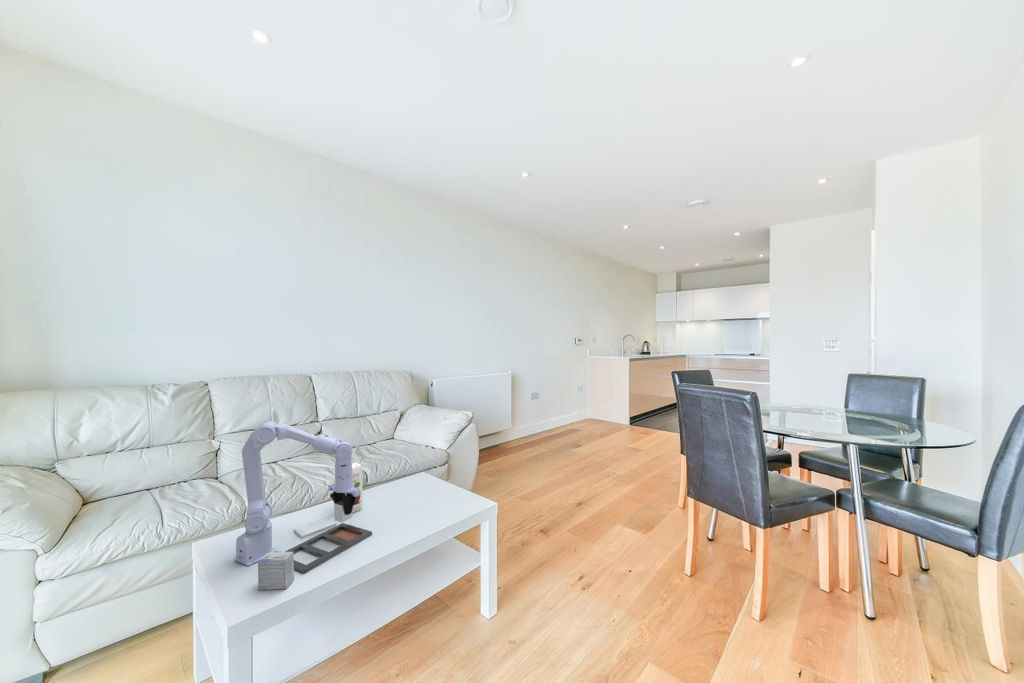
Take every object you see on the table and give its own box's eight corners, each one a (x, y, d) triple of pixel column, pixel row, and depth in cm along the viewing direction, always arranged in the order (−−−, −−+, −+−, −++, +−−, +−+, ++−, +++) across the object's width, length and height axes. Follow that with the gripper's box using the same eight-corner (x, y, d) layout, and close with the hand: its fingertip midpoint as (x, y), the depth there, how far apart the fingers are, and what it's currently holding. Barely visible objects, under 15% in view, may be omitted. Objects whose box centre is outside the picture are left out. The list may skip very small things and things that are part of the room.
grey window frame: (304, 573, 113) (303, 570, 113) (273, 561, 120) (273, 557, 120) (372, 534, 136) (371, 531, 136) (342, 526, 143) (342, 522, 143)
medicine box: (294, 580, 110) (294, 550, 110) (286, 590, 106) (285, 559, 106) (267, 581, 110) (267, 551, 110) (257, 591, 105) (257, 560, 105)
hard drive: (327, 517, 149) (293, 528, 140) (336, 523, 144) (301, 535, 134) (327, 521, 149) (293, 533, 140) (336, 527, 144) (301, 540, 134)
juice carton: (337, 510, 157) (336, 465, 158) (358, 504, 163) (357, 461, 163) (343, 516, 152) (342, 469, 152) (364, 510, 157) (363, 465, 158)
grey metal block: (342, 522, 132) (341, 505, 132) (334, 520, 134) (334, 503, 134) (351, 517, 135) (351, 501, 136) (344, 515, 137) (343, 499, 137)
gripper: (366, 474, 135) (367, 512, 135) (340, 469, 142) (340, 504, 142) (350, 481, 129) (350, 520, 129) (323, 475, 136) (323, 512, 136)
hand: (344, 512), depth 135 cm, fingers closed on grey metal block, 4 cm apart
